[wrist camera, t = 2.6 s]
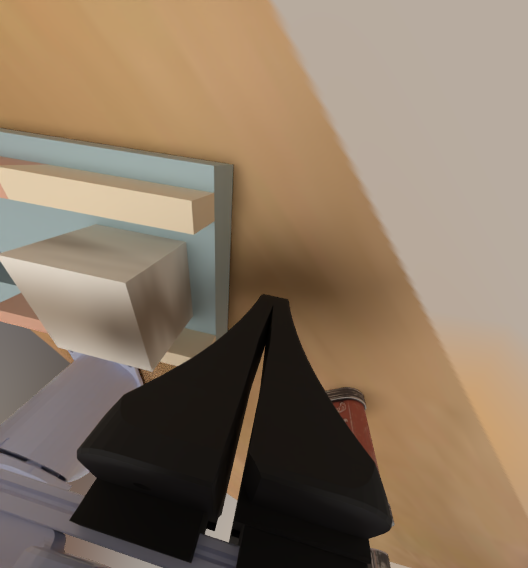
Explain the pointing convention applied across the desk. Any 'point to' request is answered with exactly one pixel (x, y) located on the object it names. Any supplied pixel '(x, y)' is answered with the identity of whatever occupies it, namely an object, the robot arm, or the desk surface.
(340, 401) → the lighter
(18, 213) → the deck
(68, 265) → the block
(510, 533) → the desk surface
